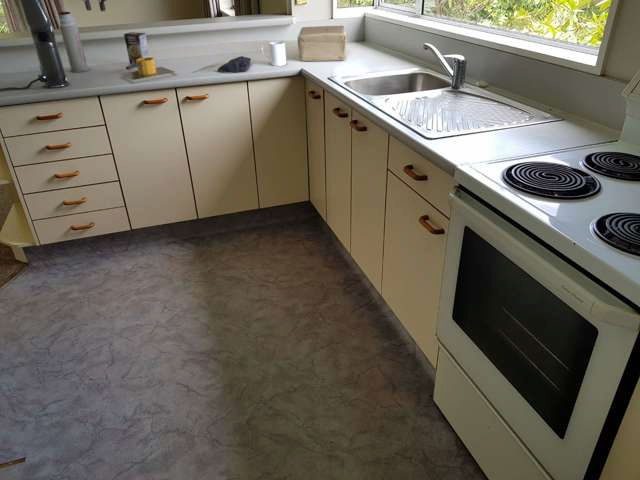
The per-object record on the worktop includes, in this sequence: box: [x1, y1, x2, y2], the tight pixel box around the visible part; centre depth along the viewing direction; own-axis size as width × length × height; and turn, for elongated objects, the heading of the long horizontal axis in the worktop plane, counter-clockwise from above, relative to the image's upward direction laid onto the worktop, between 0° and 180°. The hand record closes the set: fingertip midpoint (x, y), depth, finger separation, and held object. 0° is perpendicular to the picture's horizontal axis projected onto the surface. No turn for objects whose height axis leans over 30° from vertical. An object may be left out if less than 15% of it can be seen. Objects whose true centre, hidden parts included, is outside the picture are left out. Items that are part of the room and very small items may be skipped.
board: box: [120, 66, 175, 81], centre depth 250 cm, size 22×16×2 cm
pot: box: [125, 56, 157, 75], centre depth 245 cm, size 17×8×6 cm, turn 157°
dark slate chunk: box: [217, 55, 252, 73], centre depth 260 cm, size 15×22×5 cm
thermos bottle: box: [58, 11, 89, 73], centre depth 257 cm, size 8×8×28 cm
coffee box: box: [123, 31, 150, 66], centre depth 267 cm, size 9×6×16 cm
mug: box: [260, 41, 287, 67], centre depth 263 cm, size 12×8×10 cm, turn 87°
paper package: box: [297, 25, 347, 62], centre depth 275 cm, size 27×26×14 cm
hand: (96, 10), depth 238 cm, fingers open, 8 cm apart
